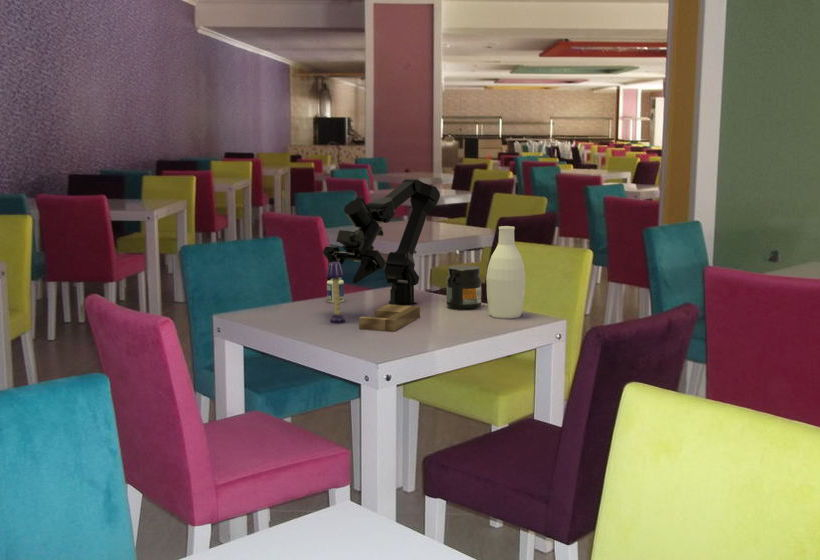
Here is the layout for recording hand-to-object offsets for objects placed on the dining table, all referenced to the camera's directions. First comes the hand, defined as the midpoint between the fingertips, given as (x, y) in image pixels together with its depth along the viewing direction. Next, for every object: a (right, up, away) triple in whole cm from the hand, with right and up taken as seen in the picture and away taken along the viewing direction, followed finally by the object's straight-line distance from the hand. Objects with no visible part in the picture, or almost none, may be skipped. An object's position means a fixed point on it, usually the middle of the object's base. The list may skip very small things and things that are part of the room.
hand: (340, 281), depth 257 cm
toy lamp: (-1, -11, 0) cm, 12 cm away
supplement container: (+35, -8, +21) cm, 42 cm away
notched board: (+14, -11, -1) cm, 18 cm away
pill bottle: (-4, -7, +30) cm, 31 cm away
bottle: (+47, -10, +8) cm, 48 cm away
